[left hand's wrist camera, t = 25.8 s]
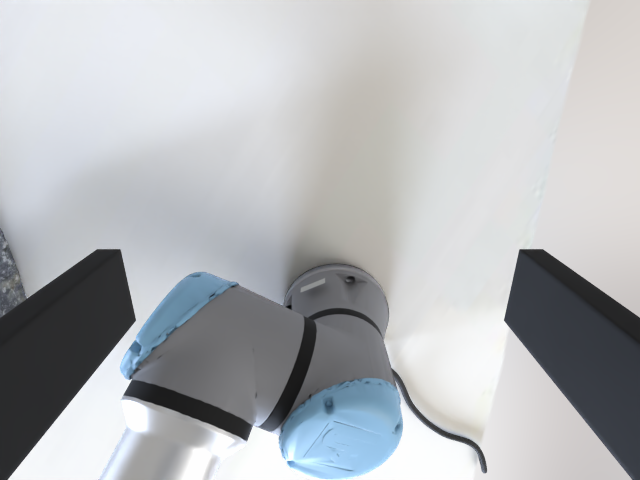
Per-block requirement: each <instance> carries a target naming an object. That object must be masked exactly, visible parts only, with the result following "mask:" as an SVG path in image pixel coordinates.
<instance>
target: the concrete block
mask: <svg viewBox="0 0 640 480" xmlns="http://www.w3.org/2000/svg"><path fill="white" fill-rule="evenodd" d="M25 300H26V297H25V293H24V290H23V287H22V284H21V280H20V276H19V273H18V270H17V268H16V265H15V262H14V260H13V257H12V254H11V251H10V249H9V246H8V243H7V242H6V240H5V238H4V235H3V232H2V230H1V229H0V318H1V317H2V316H3V315H5V314H6V313H8V312H9V311H10V310H12V309H13V308H15V307H16V306H18V305H19V304H20V303H22V302H23V301H25Z"/></svg>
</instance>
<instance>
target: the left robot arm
mask: <svg viewBox="0 0 640 480" xmlns="http://www.w3.org/2000/svg"><path fill="white" fill-rule="evenodd" d="M135 321H136V319H135V314H134V309H133V305H132V300H131V296H130V291H129V286H128V282H127V277H126V273H125V268H124V263H123V259H122V254H121V250H120V249H97V250H96V251H94V252H93V253H91V254H90V255H88V256H87V257H86V258H84V259H83V260H81V261H80V262H79V263H77V264H76V265H74V266H73V267H71V268H70V269H69V270H67V271H66V272H64V273H63V274H62V275H60V276H59V277H57V278H56V279H54V280H53V281H52V282H50V283H49V284H47V285H46V286H45V287H43V288H42V289H40V290H39V291H37V292H36V293H35V294H33V295H32V296H30V297H29V298H28V299H26V300H25V301H23V302H22V303H20V304H19V305H18V306H16V307H15V308H13V309H12V310H10V311H9V312H8V313H6V314H5V315H3V316H2V317H1V318H0V480H8V478H9V477H10V476H11V475H12V474H13V472H14V471H15V470H16V469H17V467H18V466H19V465H20V464H21V462H22V461H23V460H24V459H25V457H26V456H27V455H28V454H29V452H30V451H31V450H32V449H33V447H34V446H35V445H36V444H37V443H38V441H39V440H40V439H41V438H42V436H43V435H44V434H45V433H46V431H47V430H48V429H49V428H50V426H51V425H52V424H53V423H54V421H55V420H56V419H57V418H58V416H59V415H60V414H61V413H62V412H63V410H64V409H65V408H66V407H67V405H68V404H69V403H70V402H71V400H72V399H73V398H74V397H75V395H76V394H77V393H78V392H79V390H80V389H81V388H82V387H83V385H84V384H85V383H86V382H87V381H88V379H89V378H90V377H91V376H92V374H93V373H94V372H95V371H96V369H97V368H98V367H99V366H100V364H101V363H102V362H103V361H104V359H105V358H106V357H107V356H108V354H109V353H110V352H111V351H112V350H113V348H114V347H115V346H116V345H117V343H118V342H119V341H120V340H121V338H122V337H123V336H124V335H125V333H126V332H127V331H128V330H129V328H130V327H131V326H132V325H133V323H134V322H135ZM388 321H389V308H388V304H387V300H386V297H385V294H384V292H383V290H382V288H381V286H380V285H379V284H378V282H377V281H376V280H375V279H374V278H373V277H372V276H370V275H369V274H368V273H366V272H365V271H363V270H361V269H358V268H356V267H353V266H349V265H343V264H329V265H323V266H319V267H316V268H313V269H311V270H309V271H307V272H305V273H304V274H302V275H301V276H300V277H299V278H297V279H296V280H295V282H294V283H293V284H292V285H291V287H290V288H289V290H288V292H287V294H286V297H285V300H284V305H283V306H282V305H279V304H277V303H275V302H273V301H271V300H269V299H267V298H264V297H262V296H260V295H258V294H256V293H254V292H252V291H250V290H248V289H246V288H243V287H241V286H239V284H238V283H236V282H229V281H227V280H224V279H221V278H219V277H216V276H214V275H211V274H209V273H206V272H196V273H193V274H190V275H188V276H187V277H185V278H184V279H183V280H181V281H180V282H179V283H178V284H177V285H176V286H175V287H174V288H173V289H172V290H171V291H170V292H169V294H168V295H167V296H166V297H165V298H164V299H163V301H162V302H161V303H160V304H159V306H158V307H157V308H156V309H155V311H154V312H153V313H152V315H151V316H150V317H149V319H148V320H147V321H146V323H145V324H144V326H143V327H142V328H141V330H140V332H139V333H138V335H137V336H136V340H135V341H134V342H133V344H132V345H131V347H130V348H129V349H128V351H127V352H126V354H125V356H124V358H123V360H122V362H121V365H120V370H121V373H122V374H123V375H124V377H125V379H128V380H130V379H132V381H131V383H130V384H129V386H128V388H127V390H126V392H125V393H124V395H123V397H122V399H121V402H122V406H123V409H124V413H125V417H126V429H125V431H124V433H123V435H122V437H121V439H120V440H119V442H118V444H117V446H116V448H115V450H114V452H113V453H112V455H111V457H110V459H109V461H108V463H107V465H106V466H105V468H104V470H103V472H102V474H101V476H100V478H99V479H98V480H214V479H215V476H216V473H217V471H218V468H219V466H220V463H221V462H222V461H223V460H224V459H225V458H226V457H227V456H229V455H231V454H232V453H234V452H236V451H238V450H239V449H241V448H243V447H244V446H245V445H246V443H247V440H248V437H249V435H250V432H251V429H252V427H253V426H256V427H259V428H261V429H264V430H266V431H269V432H271V433H274V434H276V435H279V446H280V449H281V453H282V456H283V458H284V459H285V460H286V461H287V464H288V466H289V467H290V468H291V469H292V470H293V471H295V472H296V473H298V474H300V475H302V476H304V477H306V478H310V479H313V480H347V479H352V478H354V477H356V476H360V475H364V474H366V473H368V472H370V471H372V470H374V469H376V468H377V467H379V466H380V465H381V464H383V463H384V462H385V461H386V460H387V459H388V458H389V457H390V456H391V455H392V453H393V452H394V451H395V449H396V448H397V446H398V444H399V441H400V439H401V436H402V430H403V421H402V414H401V408H400V397H399V392H398V390H397V387H396V383H395V380H396V382H397V383H398V385H399V387H400V389H401V392H402V394H403V396H404V399H405V401H406V403H407V405H408V406H409V408H410V409H411V411H412V412H413V413H414V414H415V415H416V416H417V418H418V419H419V420H420V421H421V422H423V423H424V424H425V425H426V426H427V427H429V428H430V429H432V430H433V431H435V432H436V433H438V434H439V435H441V436H443V437H446V438H448V439H451V440H455V441H459V442H462V443H465V444H467V445H469V446H471V447H472V448H474V449H475V451H476V452H477V454H478V458H479V461H480V465H481V469H482V472H483V473H486V472H487V466H486V461H485V457H484V455H483V452H482V451H481V449H480V447H479V446H478V445H477V444H476V443H474V442H473V441H471V440H469V439H467V438H464V437H461V436H457V435H453V434H450V433H448V432H445V431H443V430H441V429H440V428H438V427H437V426H435V425H434V424H432V423H431V422H430V421H429V420H427V419H426V418H425V417H424V416H423V415H422V414H421V413H420V412H419V411H418V409H417V408H416V407H415V406H414V404H413V403H412V401H411V399H410V397H409V395H408V392H407V390H406V387H405V385H404V383H403V381H402V380H401V378H400V377H399V375H398V374H397V373H396V372H395V371H394V370H393V369H392V368H391V365H390V362H389V358H388V355H387V351H386V348H385V344H384V341H383V340H384V336H385V332H386V328H387V325H388ZM504 321H505V322H506V323H507V325H508V326H509V327H510V328H511V330H512V331H513V332H514V333H515V335H516V336H517V337H518V338H519V340H520V341H521V342H522V343H523V345H524V346H525V347H526V348H527V350H528V351H529V352H530V353H531V354H532V356H533V357H534V358H535V359H536V361H537V362H538V363H539V364H540V366H541V367H542V368H543V369H544V371H545V372H546V373H547V374H548V376H549V377H550V378H551V379H552V381H553V382H554V383H555V384H556V385H557V387H558V388H559V389H560V390H561V392H562V393H563V394H564V395H565V397H566V398H567V399H568V400H569V401H570V403H571V404H572V405H573V407H574V408H575V409H576V410H577V412H578V413H579V414H580V415H581V416H582V418H583V419H584V420H585V421H586V423H587V424H588V425H589V426H590V428H591V429H592V430H593V431H594V433H595V434H596V435H597V436H598V438H599V439H600V440H601V441H602V442H603V444H604V445H605V446H606V447H607V449H608V450H609V451H610V452H611V454H612V455H613V456H614V457H615V459H616V460H617V461H618V462H619V463H620V465H621V466H622V467H623V468H624V470H625V471H626V472H627V473H628V475H629V476H630V477H631V478H632V480H640V318H639V317H638V316H637V315H635V314H634V313H632V312H631V311H629V310H628V309H627V308H625V307H624V306H622V305H621V304H620V303H618V302H617V301H615V300H614V299H612V298H611V297H610V296H608V295H607V294H605V293H604V292H603V291H601V290H600V289H598V288H597V287H595V286H594V285H593V284H591V283H590V282H588V281H587V280H586V279H584V278H583V277H581V276H580V275H578V274H577V273H576V272H574V271H573V270H571V269H570V268H569V267H567V266H566V265H564V264H563V263H561V262H560V261H559V260H557V259H556V258H554V257H553V256H551V255H550V254H549V253H547V252H546V251H544V250H543V249H520V250H519V254H518V259H517V263H516V268H515V273H514V277H513V282H512V286H511V291H510V296H509V300H508V305H507V309H506V314H505V319H504Z"/></svg>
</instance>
